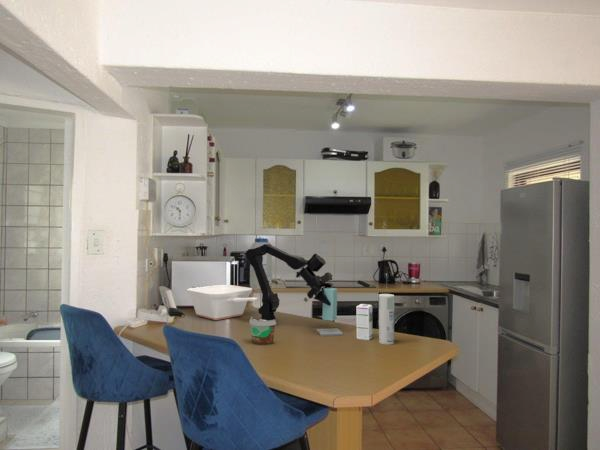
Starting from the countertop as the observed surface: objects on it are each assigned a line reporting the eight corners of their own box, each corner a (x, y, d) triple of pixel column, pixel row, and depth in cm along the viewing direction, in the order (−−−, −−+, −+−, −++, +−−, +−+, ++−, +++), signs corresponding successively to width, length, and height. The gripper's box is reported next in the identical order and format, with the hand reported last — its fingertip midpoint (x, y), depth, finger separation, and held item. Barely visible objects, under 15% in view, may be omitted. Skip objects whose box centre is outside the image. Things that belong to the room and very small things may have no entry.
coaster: (321, 336, 185) (321, 334, 185) (316, 330, 195) (316, 329, 195) (343, 335, 186) (343, 333, 186) (337, 330, 196) (337, 328, 196)
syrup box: (369, 340, 178) (369, 306, 178) (356, 338, 180) (356, 305, 181) (372, 337, 183) (372, 304, 183) (359, 335, 186) (359, 303, 186)
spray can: (390, 345, 170) (390, 296, 171) (375, 342, 174) (376, 295, 175) (396, 342, 176) (396, 294, 176) (382, 339, 180) (382, 293, 180)
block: (322, 319, 189) (323, 288, 189) (326, 317, 194) (327, 287, 194) (332, 320, 187) (333, 289, 187) (336, 318, 191) (337, 288, 192)
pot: (225, 309, 246) (225, 284, 246) (276, 320, 216) (277, 292, 216) (182, 316, 225) (182, 288, 225) (232, 330, 195) (233, 298, 195)
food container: (243, 343, 172) (243, 319, 173) (251, 339, 178) (251, 316, 178) (268, 347, 167) (268, 322, 167) (276, 343, 172) (276, 319, 172)
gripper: (313, 268, 184) (336, 295, 179) (329, 265, 201) (351, 289, 196) (297, 285, 187) (319, 311, 182) (314, 280, 204) (335, 305, 199)
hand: (332, 304), depth 190 cm, fingers closed on block, 5 cm apart
